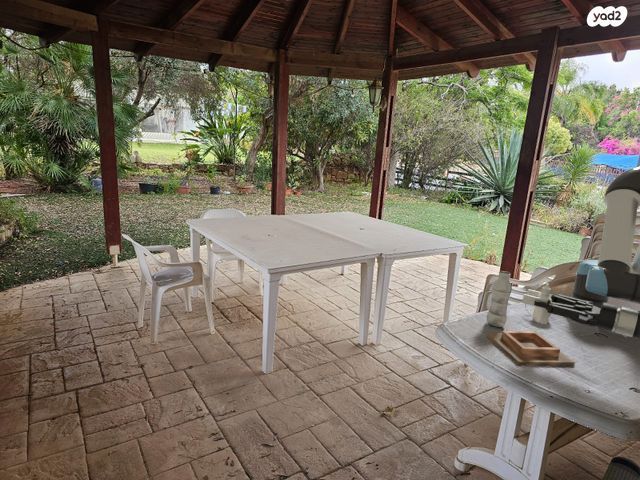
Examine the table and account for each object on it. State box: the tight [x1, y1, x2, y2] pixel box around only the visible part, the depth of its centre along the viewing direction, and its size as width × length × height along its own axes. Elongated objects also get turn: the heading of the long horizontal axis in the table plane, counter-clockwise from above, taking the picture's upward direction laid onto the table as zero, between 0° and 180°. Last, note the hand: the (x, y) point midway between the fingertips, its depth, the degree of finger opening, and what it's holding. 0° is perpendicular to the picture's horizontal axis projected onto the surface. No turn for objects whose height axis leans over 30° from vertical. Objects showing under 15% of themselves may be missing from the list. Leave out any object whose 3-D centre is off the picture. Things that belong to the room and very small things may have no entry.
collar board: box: [486, 330, 576, 367], centre depth 127 cm, size 18×18×4 cm
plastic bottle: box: [485, 270, 513, 328], centre depth 143 cm, size 6×7×20 cm
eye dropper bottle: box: [532, 283, 552, 325], centre depth 122 cm, size 4×6×12 cm
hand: (525, 295), depth 125 cm, fingers closed on eye dropper bottle, 5 cm apart
